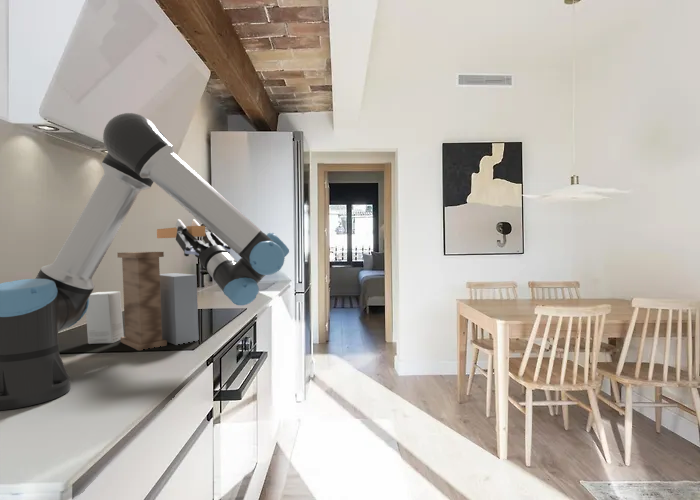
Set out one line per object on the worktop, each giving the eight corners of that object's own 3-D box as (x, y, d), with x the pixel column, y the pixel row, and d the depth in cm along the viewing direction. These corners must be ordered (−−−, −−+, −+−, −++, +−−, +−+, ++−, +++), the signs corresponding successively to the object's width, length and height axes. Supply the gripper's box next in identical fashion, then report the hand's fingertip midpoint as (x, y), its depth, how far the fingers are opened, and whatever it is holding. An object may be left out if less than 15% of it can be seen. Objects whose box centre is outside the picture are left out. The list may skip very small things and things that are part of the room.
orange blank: (192, 236, 123) (191, 225, 123) (157, 238, 142) (156, 229, 142) (205, 236, 126) (205, 225, 126) (169, 238, 145) (169, 229, 145)
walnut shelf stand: (138, 350, 125) (135, 252, 124) (120, 342, 136) (117, 252, 135) (167, 345, 130) (163, 251, 129) (147, 337, 142) (144, 251, 141)
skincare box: (124, 339, 140) (122, 291, 140) (111, 344, 134) (109, 293, 133) (100, 339, 141) (98, 291, 141) (85, 344, 135) (83, 293, 134)
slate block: (176, 345, 130) (173, 276, 130) (156, 337, 142) (153, 274, 141) (198, 340, 135) (196, 274, 134) (177, 333, 146) (175, 272, 146)
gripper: (185, 277, 112) (154, 234, 126) (244, 272, 124) (209, 233, 138) (191, 252, 109) (158, 211, 123) (250, 250, 121) (214, 212, 135)
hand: (185, 223), depth 131 cm, fingers closed on orange blank, 4 cm apart
